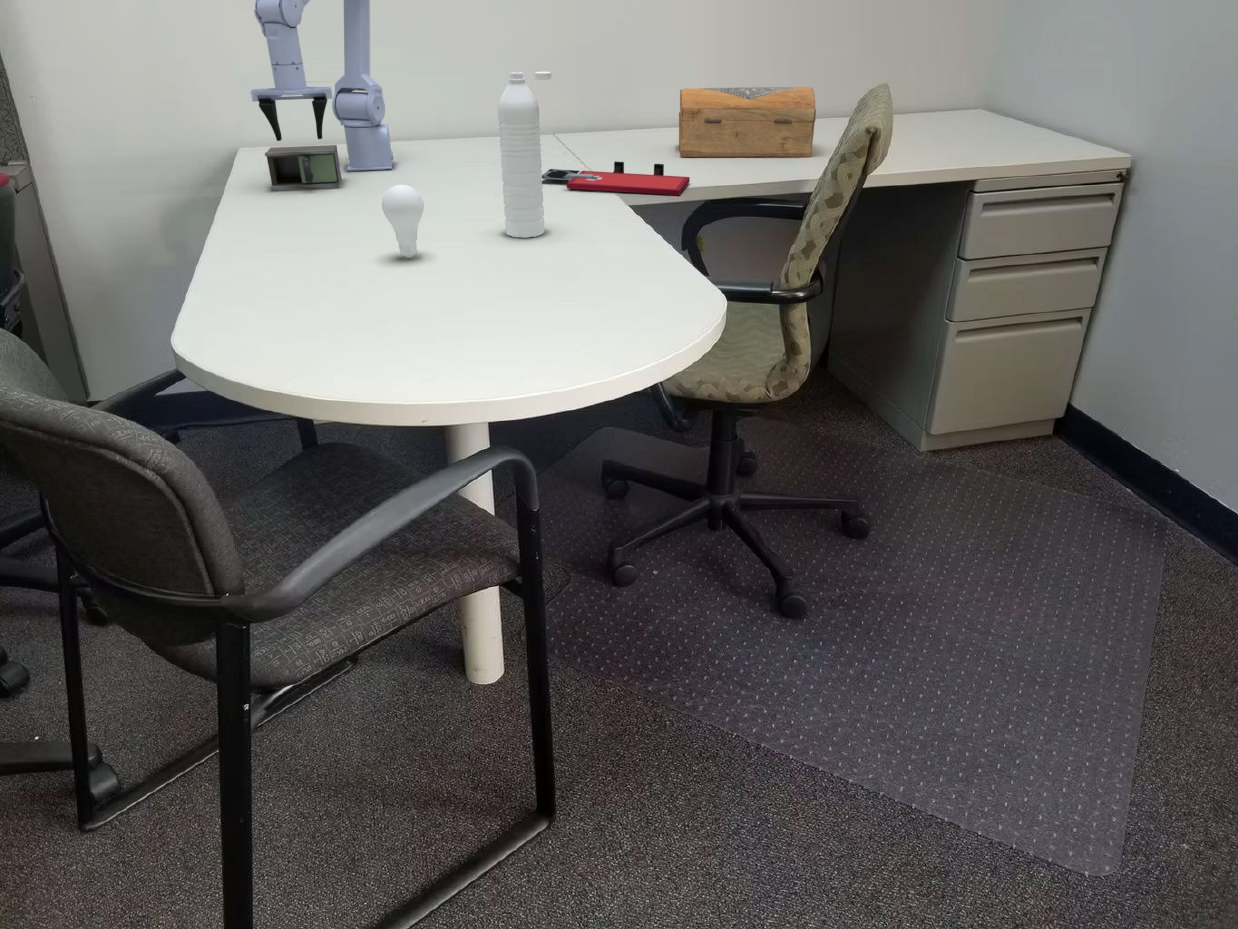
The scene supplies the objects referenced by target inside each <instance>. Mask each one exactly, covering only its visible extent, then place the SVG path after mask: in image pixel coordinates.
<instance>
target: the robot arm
mask: <svg viewBox="0 0 1238 929" xmlns="http://www.w3.org/2000/svg"><path fill="white" fill-rule="evenodd" d="M310 1H311V0H255V1H254V9H253V12H254V17H255V19H256V21H257V22H258V24H259V25H260V28H261V33H262V35H263V37H265V39H266V44H267V49H268V50H267V51H268V55H269V59H270V60H269V62H270V68H271V72H272V78H273V82H274V87H269V88H255V89H253V88H252V89H251V90H250V94H251V99H252V100H251V101H252V102H258V107H259V109H260V111H261V112H262V114H264V116H265V118H266V119H267V121H268V123H269V125H270V127H271V129H272V131H273V133H274V136H275V139H276V142H281V141H282V139H283V137H282V132H281V127H280V123H279V119H278V118H279V117H278V112H277V104H276V101H289V100H290V101H291V100H312V101H311V106H312V110H313V114H314V120H315V128H316V130H315V131H316V137H317V140H322V139H323V123H324V117H325V111H326V107H327V105H328V104H327V103H328V100H331V99H332V101H331V107H332V112H333V115H334V117H335V119H336V120H338V121H339V122H340V126H343V129H344V135H345V136H344V137H345V142H346V149H347V155H348V161H349V162H348V164H347V167H346V171H347V172H356V171H376V170H377V171H379V170H381V171H382V170H392V169H393V164H394V153H393V151H392V146H391V137H390V130H389V125H388V124H387V123H385V124H382V121H383V119H384V117H385V114H386V104H385V100H384V95H383V87H382V86H381V85H380V84H379V83H378V82H376V81H375V79H373V77H372V76H371V0H343V57H344V58H343V61H344V62H343V64H344V66H343V67H344V68H343V70H344V71H343V72H344V74H343V76H341V77H340V78H339V79H338V80H337V81H336V82H335V83H334V92H333V91H332V86H307V81H306V74H305V70H304V69H305V67H304V62H303V56H302V49H301V44H300V38H299V31H298V26H299V25H300V24H301V22H302V19H303V18H302V16H303V12H304V9H305V7H306V6H307V4H309V3H310Z"/></svg>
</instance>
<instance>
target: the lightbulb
mask: <svg viewBox="0 0 1238 929" xmlns="http://www.w3.org/2000/svg"><path fill="white" fill-rule="evenodd" d="M424 207H425V206H424V200H423V198H422V195H421V194H420V193H419V191H418V190H417V189H415V188H414V187H412V186H410V185H407V184H395V185H393V186H391V187H390V188H388V189H387V190H386V192H385V193H384V195H383V197H382V201H381V210H382V212H383V215H384V216H385V218H386V220H387V221H388V222H389V224H390V225H391V227H392V229H393V232H394V235H395V239H396V242H397V243H398V248H399V254H400V255H401V256H403V257H405V258H406V259H411V258H413V256H415V255H416V254H417V253H418V249H417V240H418V228H419V224H420V222H421V219H422V217H423V214H424Z"/></svg>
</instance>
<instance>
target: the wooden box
mask: <svg viewBox="0 0 1238 929" xmlns="http://www.w3.org/2000/svg"><path fill="white" fill-rule="evenodd" d="M816 116H817V107H816V94H815V91H814V88H813V87H809V86H803V87H802V86H801V87H800V86H799V87H798V86H796V87H795V86H793V87H792V86H785V87H784V86H780V87H779V86H766V87H765V86H763V87H762V86H761V87H758V86H757V87H704V88H701V87H700V88H681V89H680V90H679V112H678V149H679V154H680V157H683V158H684V157H685V158H686V157H689V158H690V157H691V158H692V157H693V158H694V157H695V158H700V157H701V158H705V157H708V158H709V157H711V158H717V157H718V158H721V157H723V158H731V157H732V158H810V157H812V156H811V155H812V150H813V144H814V143H813V142H814V134H815V132H814V131H815V122H816Z"/></svg>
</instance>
